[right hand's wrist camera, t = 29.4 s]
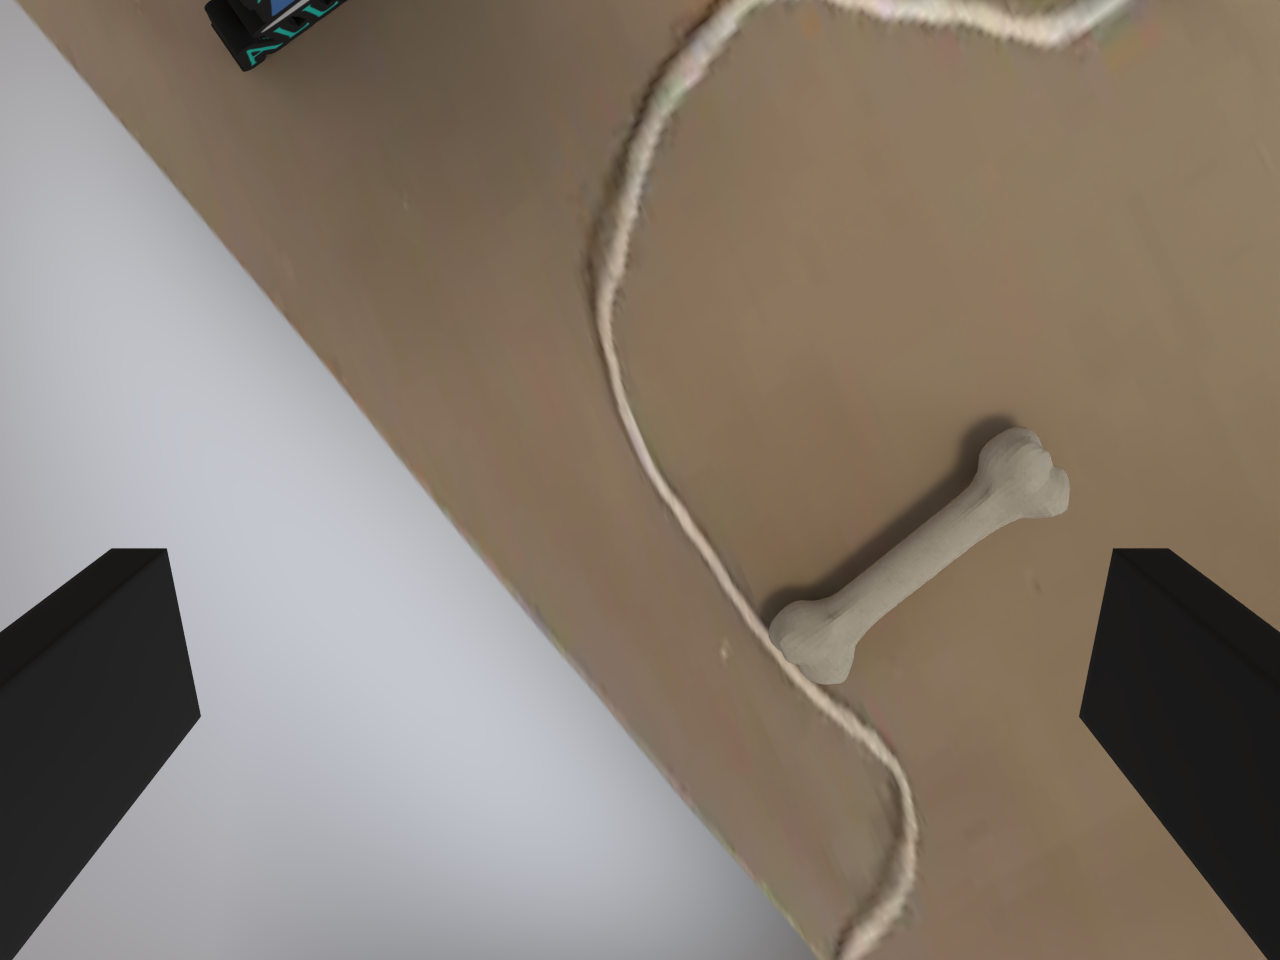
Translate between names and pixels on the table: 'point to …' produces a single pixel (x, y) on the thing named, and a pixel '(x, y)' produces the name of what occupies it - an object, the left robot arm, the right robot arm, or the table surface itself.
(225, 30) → the decorative sign
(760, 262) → the table surface
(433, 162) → the table surface
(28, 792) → the right robot arm
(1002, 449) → the dog toy
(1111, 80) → the table surface
